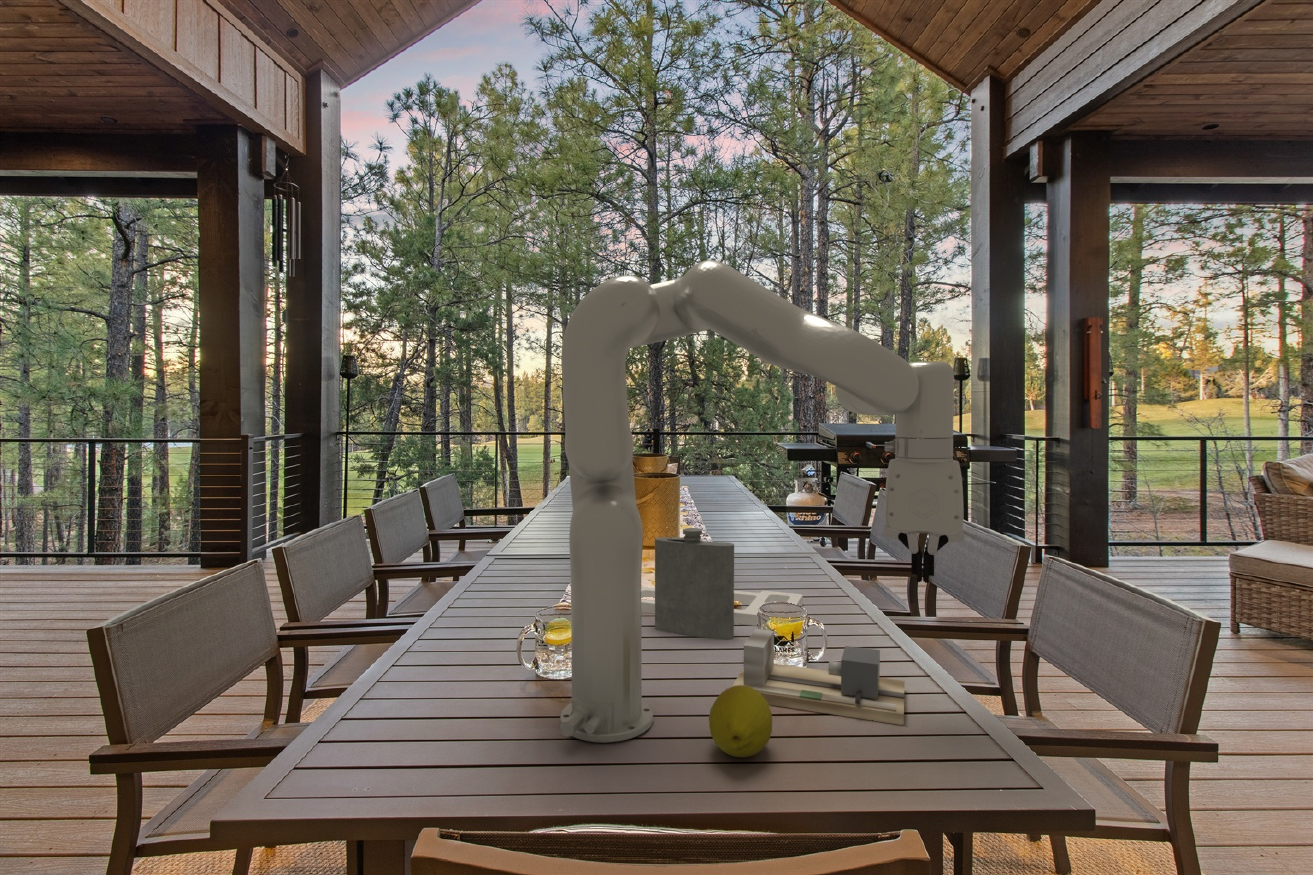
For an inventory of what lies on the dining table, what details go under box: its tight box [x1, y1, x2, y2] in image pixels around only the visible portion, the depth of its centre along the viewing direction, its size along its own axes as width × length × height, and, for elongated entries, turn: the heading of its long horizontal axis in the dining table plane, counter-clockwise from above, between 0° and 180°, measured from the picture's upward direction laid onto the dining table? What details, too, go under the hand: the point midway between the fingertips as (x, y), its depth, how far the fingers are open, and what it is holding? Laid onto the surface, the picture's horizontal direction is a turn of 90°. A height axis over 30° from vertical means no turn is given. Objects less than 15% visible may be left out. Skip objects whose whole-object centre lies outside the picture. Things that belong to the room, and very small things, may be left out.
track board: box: [731, 628, 906, 726], centre depth 101 cm, size 12×24×8 cm, turn 69°
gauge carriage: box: [827, 645, 881, 704], centre depth 98 cm, size 9×7×5 cm
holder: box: [641, 586, 804, 627], centre depth 148 cm, size 45×18×3 cm, turn 69°
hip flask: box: [654, 527, 735, 641], centre depth 129 cm, size 16×4×20 cm, turn 65°
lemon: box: [708, 685, 773, 758], centre depth 84 cm, size 11×8×8 cm
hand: (922, 579), depth 96 cm, fingers closed
